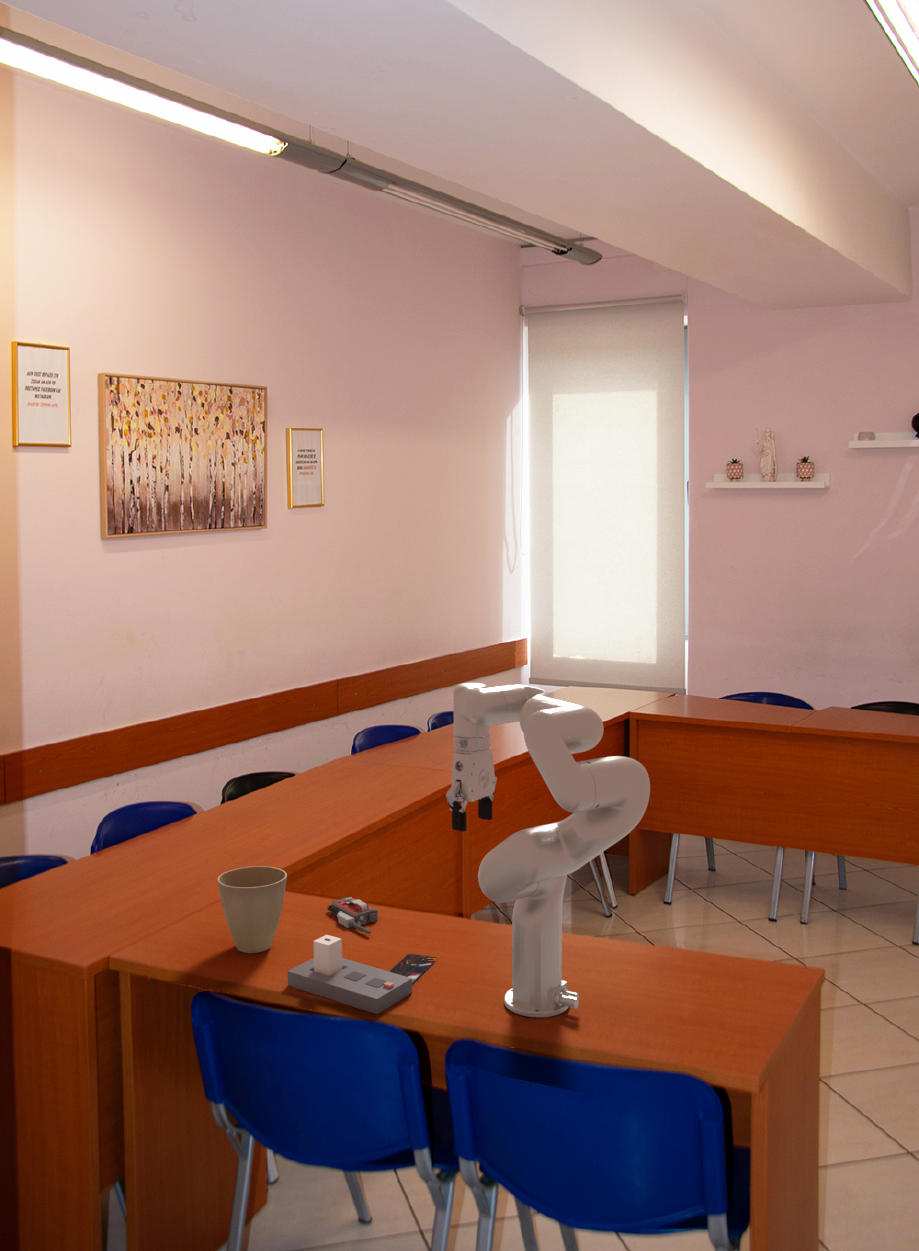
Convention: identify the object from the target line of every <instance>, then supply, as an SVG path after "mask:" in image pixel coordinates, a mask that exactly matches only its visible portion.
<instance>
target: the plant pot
mask: <svg viewBox="0 0 919 1251" xmlns="http://www.w3.org/2000/svg"><path fill="white" fill-rule="evenodd" d="M287 879H288V873H287V872H286V871H285V870H283V869H281V868H278V867H273V866H266V865H265V866H263V865H262V866H261V865H257V866H256V865H253V866H246V867H240V868H239V867H238V868H234V869H231V870H228V871H224V872H222V873H221V874H220V875H218V877H217V886H218V889H219V895H220V901H221V906H222V909H223V914H224V917H225V920H226V923H227V926H228V929H229V932H230V935H231V938H232V941H233V942H234V945H235V947H236V949H237V950H238V951H239V952H242V953H244V954H257V953H262V952H265V951H268V950H269V949H270V948H271V946H272V944H273V941H274V938H275V935H276V932H277V929H278V926H279V923H280V918H281V914H282V910H283V906H284V901H285V894H286V886H287Z"/></svg>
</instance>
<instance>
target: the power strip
mask: <svg viewBox="0 0 919 1251" xmlns="http://www.w3.org/2000/svg"><path fill="white" fill-rule="evenodd" d="M389 971H390V970H385V969H381V968H378V967H375V966H371V965H367V964H365V963H361V962H357V961H354V960H350V959H347V958H344V957H342V970H341V971H339V972H337V973H335V974H333V975H331V976H326V975H323V974H320V973H317V972H314V957H313V958H310V959H309V960H307V961H305V962H303V963H300V964H299V965H296V966H295V967H293V968H291V969H289V970H287V986H289V987H292V988H294V989H298V990H301V991H303V992H308V993H310V992H311V993H310V994H313V993H314V994H313V995H317V996H319V995H320V997H322V996H324V997H323V998H326V997H327V998H326V999H328V998H330V999H329V1000H331V999H332V1000H331V1001H334V1000H335V1001H334V1002H338V1003H341V1004H344V1005H347V1006H351V1007H353V1008H357V1009H360V1010H362V1011H365V1012H369V1013H372V1014H375V1015H379V1014H380V1013H382V1012H383V1011H386V1010H387V1009H389V1008H390V1007H392V1006H394V1005H395V1004H396V1003H398V1002H400V1001H401V1000H404V999H405V998H406V997H408V996H409V994H410V993H411V994H412V993H413V986H412V978H409V977H406V976H402V975H399V974H395V973H392V972H389ZM411 994H410V995H411Z"/></svg>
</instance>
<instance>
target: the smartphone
mask: <svg viewBox="0 0 919 1251" xmlns="http://www.w3.org/2000/svg"><path fill="white" fill-rule="evenodd" d="M427 958H437V957H435V956H429V955H421V954H416V953H408V954H406V955H405V956H404V957H403V958H401V960H399V961H398V963H396V965H394V966H393V967H391V969H390V970H388V971H389V972H392V973H395V974H399V975H402V976H406V977H409V978H412V985H413V984H414V983H415V982H416V981H417V982H418V981H419V980H420V979H419V978H422V977H421V976H422V975H423V974H424V973H425V974H426V973H427V971H429V970H430V969H431V968H432V966H433V965H434V964H435V963H436V962H435V961H428V960H433V959H427ZM422 959H424V960H422ZM434 962H435V963H434ZM433 963H434V964H433ZM426 970H427V971H426ZM425 974H424V975H425ZM424 975H423V976H424ZM418 979H419V980H418ZM417 982H416V983H417ZM416 983H415V984H416ZM415 984H414V985H415ZM414 985H413V986H414Z"/></svg>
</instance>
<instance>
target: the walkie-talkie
mask: <svg viewBox="0 0 919 1251" xmlns="http://www.w3.org/2000/svg"><path fill="white" fill-rule="evenodd" d="M327 911H329V912H331V913H330V914H331V915H333V916H335V917H337V919H338V924H340V925H341V926H343V927H345V928H346V929H349V928H354V929H356V930H358V931H360V932H363V933H365V934H368V935H371V933H372V931H371V930H369V929H368V928H366V927H363V926H364V925H366V924H371V923H375V922H377V921H378V918H379V917H378V914H379V913H378V911H379V910H378V909H376V908H374V907H372V906H370V905H368V903H367V902H366V901H363V900H362V899H359V898H358V899H356V898H353V897H352V896H347V897H343V898H340V899H336V900H335V899H334V900H333V901H331V905H327ZM362 925H363V926H362Z"/></svg>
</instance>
